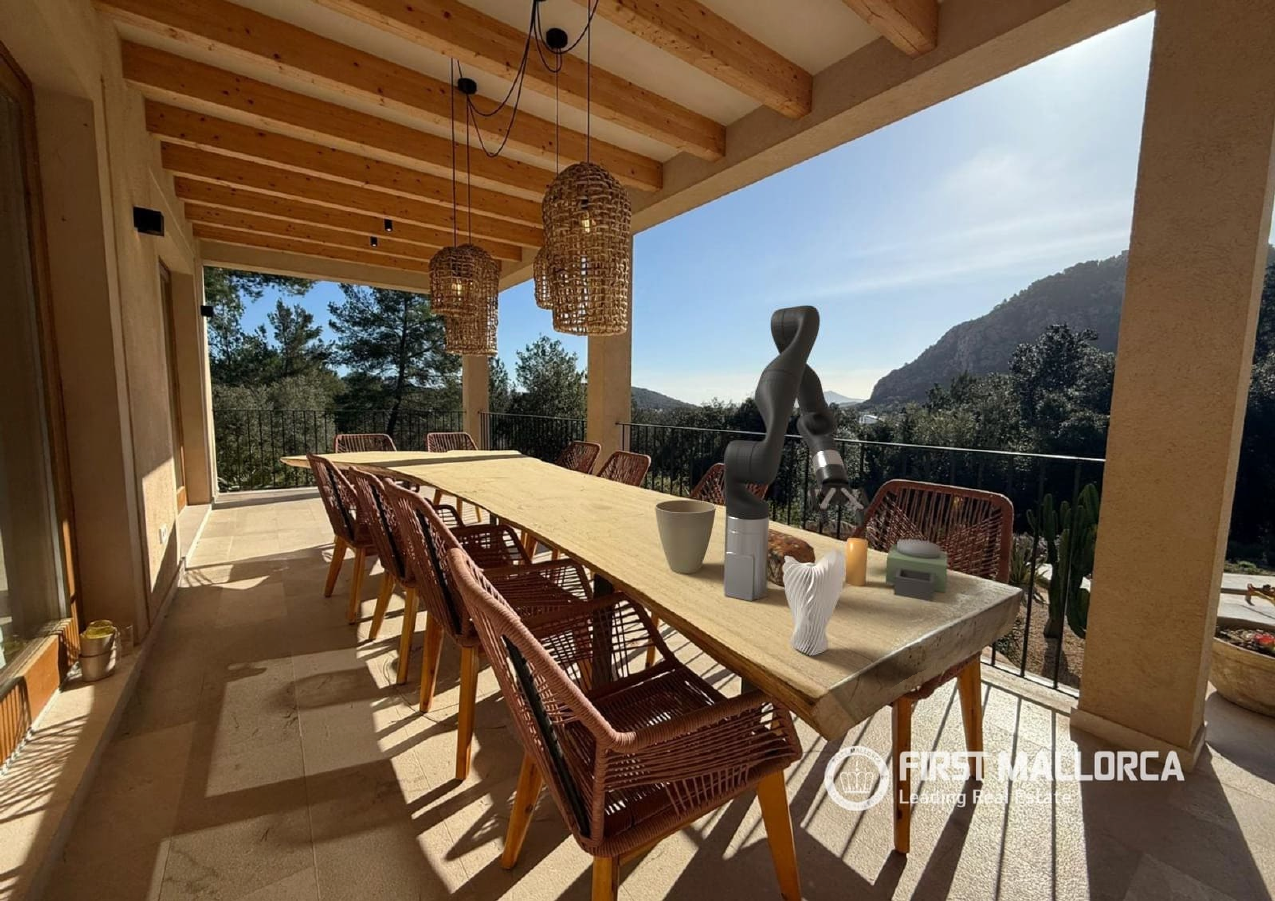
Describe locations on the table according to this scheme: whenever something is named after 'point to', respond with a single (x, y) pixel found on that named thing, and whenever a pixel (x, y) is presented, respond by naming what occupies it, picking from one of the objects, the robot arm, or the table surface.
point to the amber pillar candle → (856, 561)
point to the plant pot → (685, 532)
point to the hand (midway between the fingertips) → (844, 524)
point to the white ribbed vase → (813, 598)
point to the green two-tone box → (916, 569)
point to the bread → (785, 553)
